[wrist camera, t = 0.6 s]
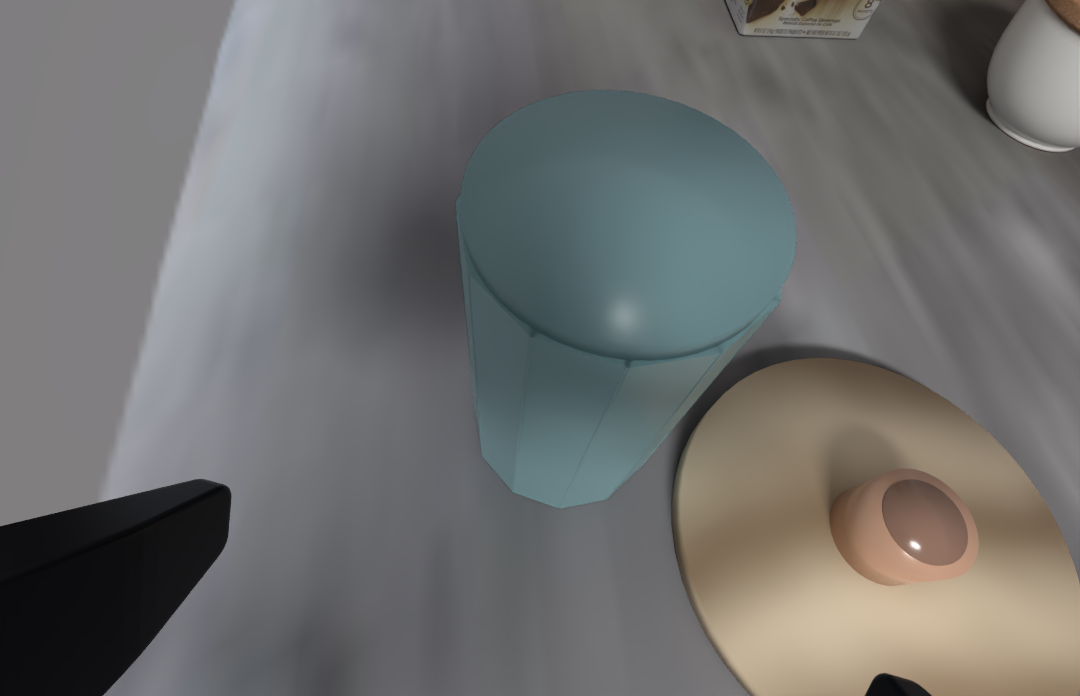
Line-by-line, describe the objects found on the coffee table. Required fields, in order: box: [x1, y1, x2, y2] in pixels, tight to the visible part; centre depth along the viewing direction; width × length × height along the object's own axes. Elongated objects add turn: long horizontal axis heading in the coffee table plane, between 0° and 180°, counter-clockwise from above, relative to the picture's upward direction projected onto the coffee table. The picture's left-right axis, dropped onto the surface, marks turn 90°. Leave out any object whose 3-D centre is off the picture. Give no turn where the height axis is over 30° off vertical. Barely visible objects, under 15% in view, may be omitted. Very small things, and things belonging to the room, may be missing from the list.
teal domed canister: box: [455, 90, 796, 509], centre depth 17 cm, size 7×7×13 cm
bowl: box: [830, 469, 979, 586], centre depth 19 cm, size 4×4×3 cm
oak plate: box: [672, 358, 1080, 696], centre depth 21 cm, size 15×15×1 cm
